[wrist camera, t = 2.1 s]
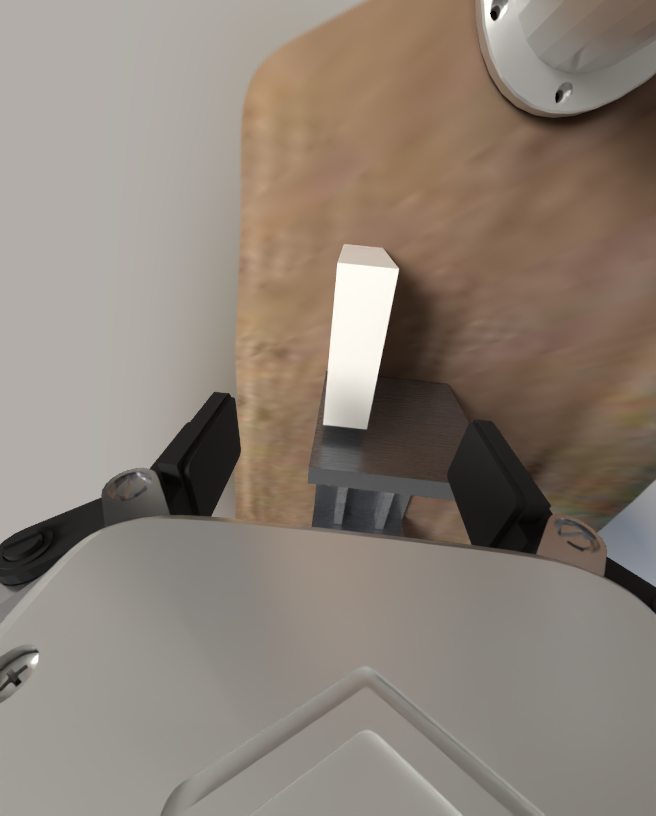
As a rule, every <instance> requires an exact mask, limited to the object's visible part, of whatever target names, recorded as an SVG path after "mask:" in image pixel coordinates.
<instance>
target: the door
mask: <svg viewBox="0 0 656 816" xmlns="http://www.w3.org/2000/svg"><path fill="white" fill-rule="evenodd" d="M398 272H399V268H398V267H397V266H396V264H395V263H394V262H393V260H392V259H391V258H390V257H389V255H388V254H387V253H386V252H385V250H384V249H383V248H378V247H368V246H358V245H348V244H344V246H343V248H342V251H341V254H340V257H339V260H338V264H337V275H336V286H335V297H334V308H333V319H332V330H331V342H330V353H329V364H328V375H327V386H326V397H325V408H324V419H323V425H330V426H339V427H348V428H357V429H366V430H367V426H368V421H369V416H370V411H371V406H372V401H373V396H374V391H375V386H376V381H377V376H378V371H379V366H380V362H381V357H382V352H383V347H384V342H385V337H386V332H387V327H388V322H389V317H390V312H391V307H392V302H393V297H394V292H395V287H396V282H397V277H398Z"/></svg>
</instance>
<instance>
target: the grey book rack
mask: <svg viewBox="0 0 656 816" xmlns="http://www.w3.org/2000/svg"><path fill="white" fill-rule="evenodd" d="M327 375H328V371H326V376H325V382H324V387H323V393H322V398H321V404H320V409H319V415H318V420H317V426H316V431H315V437H314V442H313V447H312V453H311V458H310V464H309V474H308V483H310V484H316V493H315V505H314V514H313V521H312V527H318V528H327V529H336V530H345V531H354V532H363V533H372V534H381V535H390V536H399V537H405V535H404V528H403V522H402V518H403V515H404V512H405V510H406V507H407V505H408V502H409V499H410V497H411V495H413V496H421V497H430V498H438V499H447V500H455V498H454V495H453V493H452V490H451V487H450V484H449V482H448V478H447V473H448V469H449V467H450V465H451V463H452V460H453V458H454V456H455V454H456V451H457V449H458V447H459V445H460V442H461V440H462V438H463V435H464V433H465V431H466V429H467V426H468V425H469V422H468V420H467V418H466V416H465V415H464V413H463V411H462V409H461V407H460V405H459V403H458V402H457V400H456V398H455V396H454V394H453V392H452V391H451V389H450V387H449V385H448V384H442V383H433V382H424V381H414V380H405V379H396V378H387V377H378V376H377V381H376V386H375V391H374V396H373V401H372V406H371V411H370V416H369V421H368V426H367V430H366V429H357V428H348V427H339V426H330V425H323V419H324V408H325V397H326V386H327Z"/></svg>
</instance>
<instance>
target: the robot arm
mask: <svg viewBox="0 0 656 816" xmlns="http://www.w3.org/2000/svg"><path fill="white" fill-rule="evenodd" d="M493 10H494V11H496V13H497V19H496V21H494V20H492V19H491V16H490V11H493ZM475 12H476V25H477V31H478V37H479V43H480V49H481V52H482V55H483V58H484V61H485V63H486V66H487V69H488V72H489V74H490V76H491V77H492V79H493V81H494V82H495V84H496V85H497V87H498V89H499V90H500V92H501V93H502V94H503V95H504V96H505V97H506V98H507V99H508V100H510V101H511V102H512V103H513V104H514V105H515V106H516V107H518V108H520V109H522V110H524V111H526V112H529V113H531V114H533V115H538V116H544V117H550V118H557V117H567V116H575V115H578V114H581V113H584V112H588V111H591V110H594V109H597V108H599V107H601V106H603V105H605V104H608V103H610V102H612V101H614V100H616V99H619V98H621V97H622V96H624V95H625V94H627V93H629V92H630V91H632V90H633V89H635V88H637V87H638V86H640V85H641V84H643V83H645V82H646V81H647V80H649V79H650V78H651V77H652V76H653V75H655V74H656V0H475ZM556 93H558V94H559V100H558V101H557V103H556V101H555V95H556ZM240 452H241V446H240V437H239V429H238V420H237V411H236V402H235V398H233V397H231V395H230V394H229V393H220V392H214V393H213V394H212V395H211V396H210V398H209V399H208V400H207V401H206V403H205V404H204V405H203V407H202V408H201V409H200V410H199V411H198V413H197V414H196V415H195V416H194V418H193V419H192V420H191V422H188V423H187V424H186V425H185V426H184V427H183V428H182V429H181V431H180V432H179V433H178V434H177V436H176V437H175V438H174V439H173V441H172V442H171V443H170V444H169V445H168V447H167V448H166V449H165V450H164V452H163V453H162V454H161V455H160V457H159V458H158V459H157V460H156V462H155V463H154V464H153V465H152V466H151V468H150V469H147V468H135V469H131V470H127V471H125V472H122V473H120V474H118V475H116V476H115V477H113V478H112V479H111V480H110V481H109V482H108V483H106V485H105V487H104V488H103V490H102V495H101V496H102V498H99V499H97V500H94V501H92V502H89V503H87V504H85V505H82V506H79V507H77V508H75V509H72V510H70V511H67V512H65V513H62V514H60V515H57V516H55V517H53V518H50V519H48V520H45V521H43V522H40V523H38V524H35V525H33V526H31V527H28V528H26V529H24V530H22V531H19V532H18V533H15V534H14V535H12V536H11V537H9V538H8V539H6V540H5V541H4V542H2V543H1V544H0V816H656V587H654V586H653V585H651V584H650V583H648V582H646V581H645V580H643V579H642V578H640V577H638V576H637V575H635V574H634V573H632V572H630V571H629V570H627V569H626V568H624V567H622V566H621V565H619V564H618V563H616V562H615V561H613V560H611V559H610V558H608V557H607V549H606V545H605V543H604V541H603V540H602V538H601V537H600V536H599V535H598V534H597V532H596V531H594V530H593V529H592V528H591V527H590V526H588V525H587V524H585V523H584V522H582V521H580V520H578V519H576V518H574V517H572V516H569V515H565V514H554V515H553V514H552V512H551V511H550V509H549V508H550V507H551V505H550V504H549V502H548V501H547V499H546V498H545V497H544V495H543V494H542V492H541V491H540V489H539V488H538V486H537V485H536V484H535V482H534V481H533V479H532V478H531V476H530V475H529V474H528V472H527V471H526V469H525V468H524V466H523V465H522V463H521V462H520V461H519V459H518V458H517V456H516V455H515V453H514V452H513V451H512V449H511V448H510V446H509V445H508V443H507V442H506V440H505V439H504V438H503V436H502V435H501V433H500V432H499V430H498V429H497V428H496V426H495V425H494V423H493V422H491V421H483V420H475V421H474V422H473V423H470V424H469V425H468V426H467V429H466V431H465V433H464V435H463V438H462V440H461V442H460V445H459V447H458V449H457V451H456V454H455V456H454V458H453V460H452V463H451V465H450V467H449V469H448V473H447V478H448V482H449V484H450V487H451V490H452V493H453V495H454V498H455V501H456V503H457V506H458V509H459V511H460V514H461V517H462V520H463V522H464V525H465V528H466V530H467V533H468V536H469V539H470V541H471V544H472V545H467V544H458V543H450V542H441V541H433V540H424V539H416V538H407V537H399V536H390V535H381V534H372V533H363V532H354V531H345V530H336V529H327V528H318V527H309V526H299V525H290V524H281V523H271V522H262V521H252V520H242V519H230V518H220V517H211V516H212V513H213V511H214V509H215V507H216V505H217V503H218V501H219V499H220V497H221V494H222V492H223V490H224V488H225V486H226V484H227V482H228V480H229V477H230V476H231V473H232V471H233V469H234V467H235V465H236V463H237V461H238V459H239V456H240Z"/></svg>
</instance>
